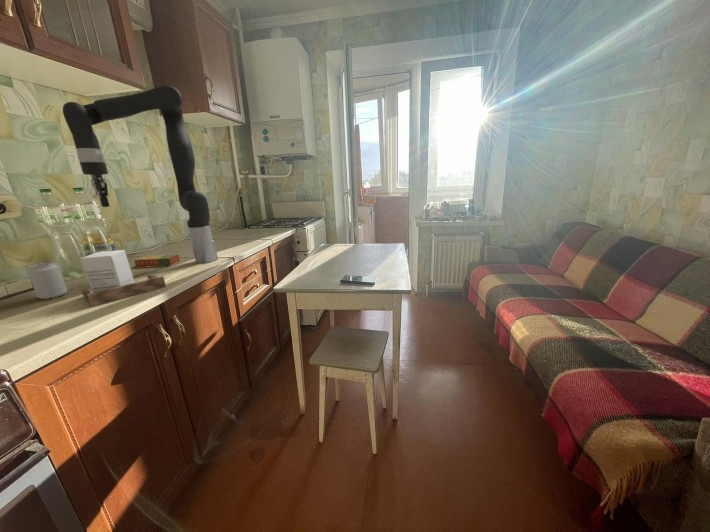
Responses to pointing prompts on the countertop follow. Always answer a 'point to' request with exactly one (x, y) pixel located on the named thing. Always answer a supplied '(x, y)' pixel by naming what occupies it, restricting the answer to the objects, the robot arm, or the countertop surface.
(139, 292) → the wooden tray
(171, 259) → the carton
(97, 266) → the supplement box
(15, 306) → the countertop surface
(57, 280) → the can
